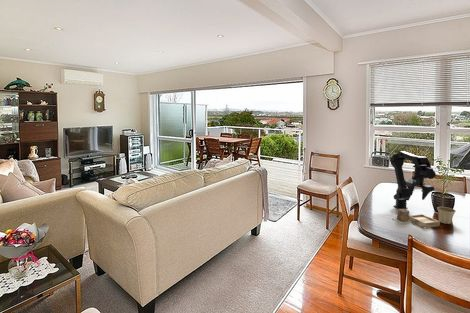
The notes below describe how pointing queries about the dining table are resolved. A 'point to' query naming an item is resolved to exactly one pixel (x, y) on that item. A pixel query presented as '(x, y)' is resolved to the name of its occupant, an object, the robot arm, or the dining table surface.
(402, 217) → the walnut block
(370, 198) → the dining table surface
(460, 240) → the dining table surface
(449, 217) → the flower pot
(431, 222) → the oak box
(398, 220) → the pad
